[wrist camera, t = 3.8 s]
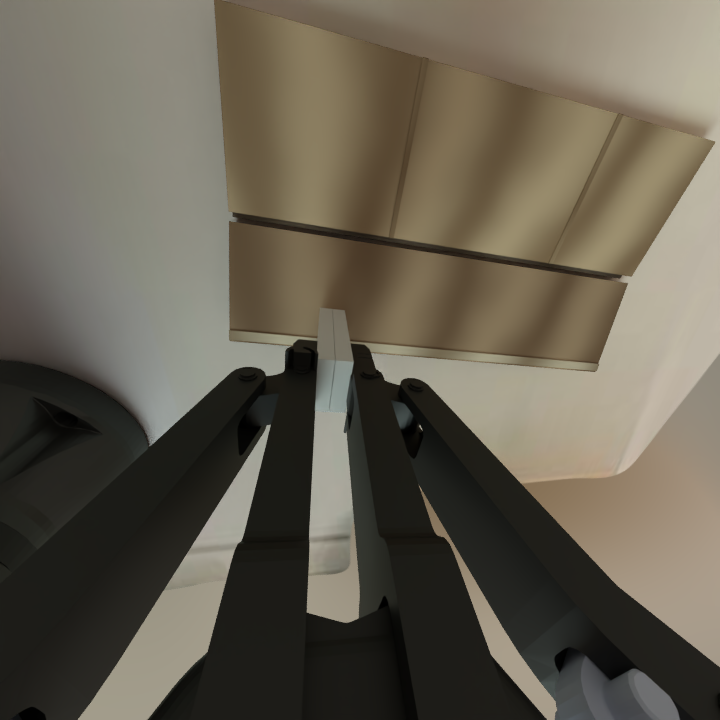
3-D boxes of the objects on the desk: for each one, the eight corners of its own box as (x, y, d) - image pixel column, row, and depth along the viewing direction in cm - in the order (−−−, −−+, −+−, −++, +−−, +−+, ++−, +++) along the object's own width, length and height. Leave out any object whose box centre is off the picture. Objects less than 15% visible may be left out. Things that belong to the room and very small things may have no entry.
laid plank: (235, 216, 17) (228, 217, 15) (223, 15, 13) (213, -4, 11) (614, 276, 21) (629, 280, 20) (692, 145, 17) (716, 141, 16)
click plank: (235, 337, 19) (229, 341, 17) (235, 225, 17) (228, 220, 15) (581, 367, 23) (596, 372, 22) (611, 283, 22) (629, 283, 20)
